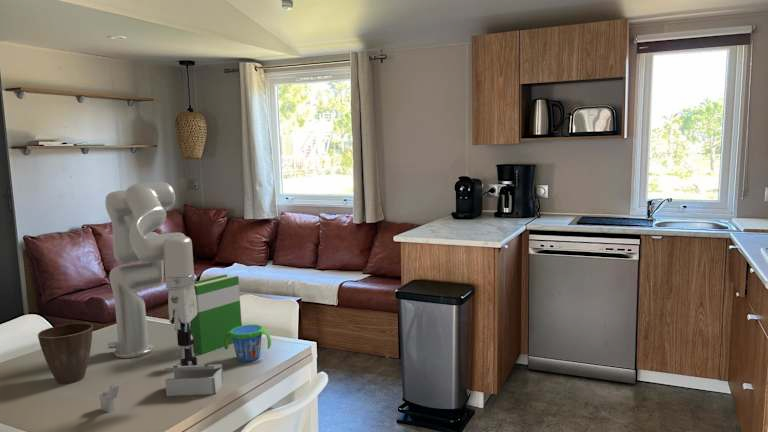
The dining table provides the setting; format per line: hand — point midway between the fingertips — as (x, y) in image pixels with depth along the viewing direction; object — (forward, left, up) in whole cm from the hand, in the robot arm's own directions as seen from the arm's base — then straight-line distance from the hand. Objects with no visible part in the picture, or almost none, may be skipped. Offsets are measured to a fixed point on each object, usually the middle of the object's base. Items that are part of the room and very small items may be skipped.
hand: (184, 344), depth 158 cm
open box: (0, +5, -15) cm, 16 cm away
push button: (-9, +24, -15) cm, 29 cm away
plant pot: (-43, +17, -15) cm, 48 cm away
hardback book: (-5, +44, -15) cm, 46 cm away
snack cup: (+10, +29, -15) cm, 34 cm away
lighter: (-19, -7, -15) cm, 25 cm away
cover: (0, +5, -9) cm, 10 cm away
